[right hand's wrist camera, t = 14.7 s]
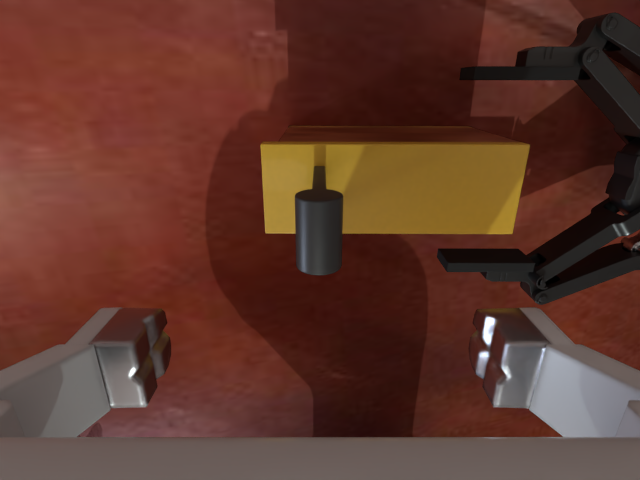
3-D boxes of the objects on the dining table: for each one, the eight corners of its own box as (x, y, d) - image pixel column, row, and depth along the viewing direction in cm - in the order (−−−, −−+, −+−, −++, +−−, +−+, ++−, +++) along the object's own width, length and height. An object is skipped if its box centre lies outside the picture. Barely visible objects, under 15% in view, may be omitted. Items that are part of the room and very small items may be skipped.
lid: (267, 228, 26) (241, 298, 17) (262, 141, 24) (230, 173, 15) (505, 229, 26) (594, 299, 17) (522, 142, 24) (633, 174, 15)
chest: (291, 191, 35) (280, 228, 26) (289, 125, 32) (277, 141, 24) (459, 192, 34) (505, 228, 26) (468, 126, 32) (522, 141, 24)
